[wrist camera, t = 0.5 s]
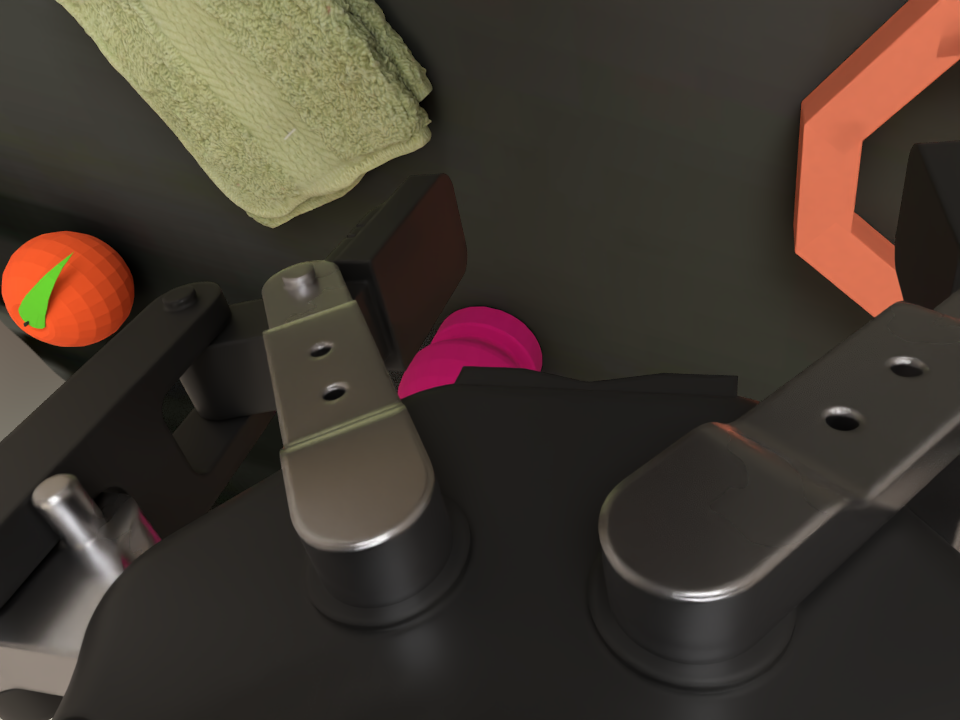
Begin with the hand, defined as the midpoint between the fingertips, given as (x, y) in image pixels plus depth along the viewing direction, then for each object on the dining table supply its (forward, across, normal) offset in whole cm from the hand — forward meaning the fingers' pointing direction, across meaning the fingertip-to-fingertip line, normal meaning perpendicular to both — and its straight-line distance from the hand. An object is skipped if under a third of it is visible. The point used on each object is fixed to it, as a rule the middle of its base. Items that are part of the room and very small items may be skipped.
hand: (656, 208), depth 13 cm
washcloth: (+18, +20, -2) cm, 27 cm away
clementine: (+18, +36, +10) cm, 42 cm away
